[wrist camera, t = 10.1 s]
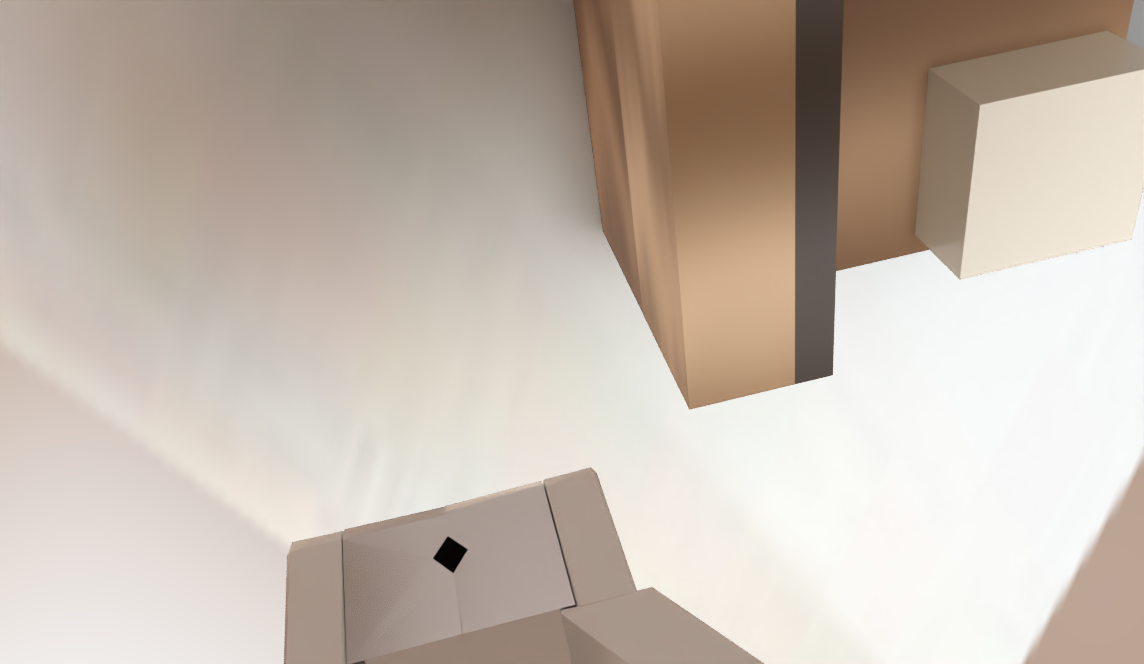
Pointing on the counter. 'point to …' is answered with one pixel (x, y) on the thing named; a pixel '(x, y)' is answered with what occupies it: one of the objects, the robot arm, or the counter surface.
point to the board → (852, 105)
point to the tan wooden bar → (734, 185)
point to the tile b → (1032, 153)
